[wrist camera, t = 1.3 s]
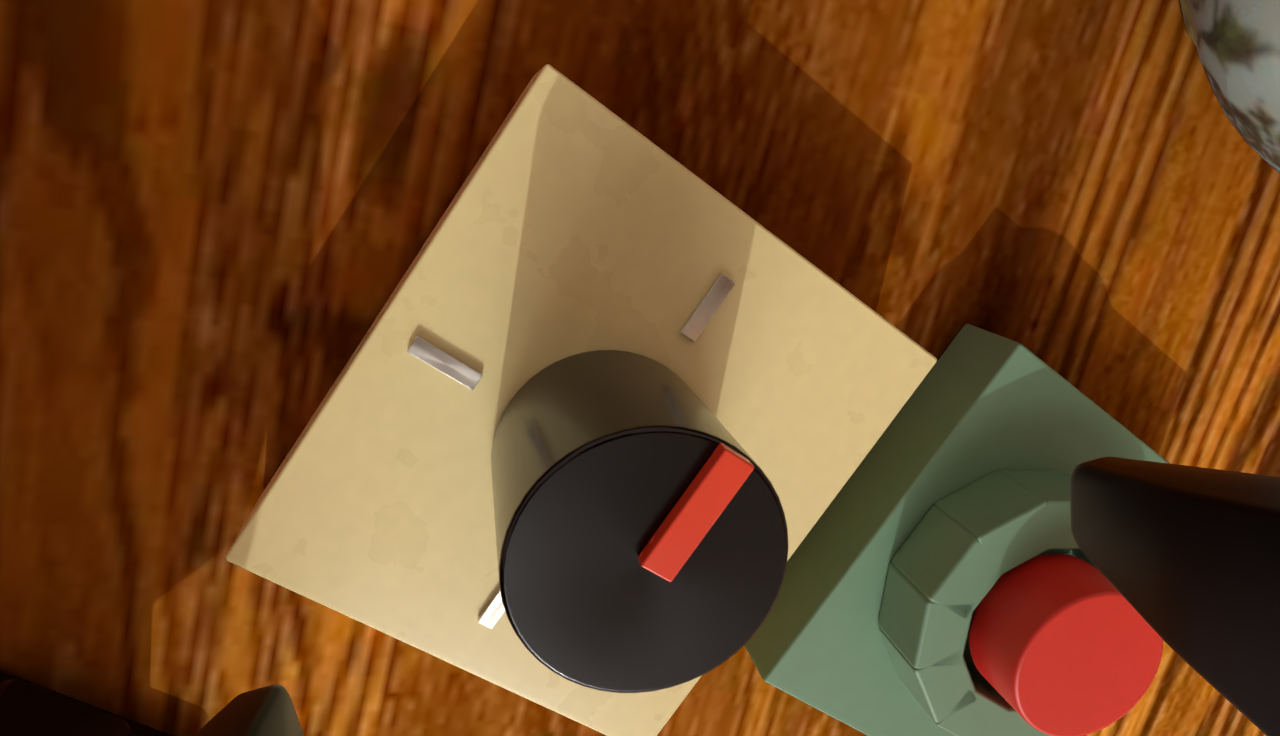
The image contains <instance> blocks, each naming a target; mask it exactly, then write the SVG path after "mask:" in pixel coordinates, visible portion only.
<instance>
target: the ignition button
mask: <svg viewBox="0 0 1280 736" xmlns="http://www.w3.org/2000/svg"><path fill="white" fill-rule="evenodd" d="M969 647H970V652H971V656H972V659H973V662H974V664H975V666H976V668H977V670H978V671H979V672H980V674H981V675H982V676H983V677H984V678H985V679H986V680H987V681H988V682H989V683H990V684H991V685H992V686H993V687H994V688H995V690H996V691H997V692H998V693H999V694H1000V695H1001V696H1002V697H1003V698H1004V699H1005V700H1006V701H1007V702H1008V703H1009V704H1010V705H1011V706H1012V707H1013V708H1014V709H1015V711H1016V712H1017V713H1018V714H1019V715H1020V716H1021V717H1022V718H1023V719H1024V720H1025V721H1026V722H1027V723H1028V724H1029V725H1030V726H1032V727H1033V728H1035V729H1036V730H1038V731H1040V732H1043V733H1045V734H1048V735H1052V736H1083V735H1087V734H1090V733H1093V732H1096V731H1098V730H1101V729H1103V728H1105V727H1107V726H1109V725H1110V724H1112V723H1114V722H1115V721H1117V720H1118V719H1120V718H1121V717H1122V716H1124V715H1125V714H1126V713H1127V712H1128V711H1129V710H1130V709H1132V708H1133V707H1134V706H1135V705H1136V703H1137V702H1138V701H1139V700H1140V699H1141V698H1142V696H1143V695H1144V694H1145V692H1146V691H1147V690H1148V688H1149V686H1150V685H1151V683H1152V681H1153V679H1154V677H1155V675H1156V673H1157V670H1158V667H1159V664H1160V661H1161V656H1162V649H1163V639H1162V638H1161V637H1160V636H1159V635H1158V634H1157V633H1156V631H1155V630H1154V629H1153V628H1152V627H1151V626H1150V625H1149V624H1148V623H1147V622H1146V621H1145V620H1144V618H1143V617H1142V616H1141V615H1140V614H1139V613H1138V612H1137V611H1136V610H1135V609H1134V608H1133V606H1132V605H1131V604H1130V603H1129V602H1128V601H1127V600H1126V599H1125V598H1124V597H1123V596H1122V594H1121V593H1120V592H1119V591H1118V590H1117V589H1116V588H1115V587H1114V586H1113V585H1112V584H1111V582H1110V581H1109V580H1108V579H1107V578H1106V577H1105V576H1104V575H1103V574H1102V573H1101V572H1100V570H1098V569H1097V568H1095V567H1094V566H1093V565H1091V564H1090V563H1088V562H1086V561H1085V560H1083V559H1081V558H1078V557H1076V556H1072V555H1067V554H1045V555H1040V556H1036V557H1033V558H1031V559H1029V560H1028V561H1026V562H1024V563H1022V564H1020V565H1018V566H1016V567H1014V568H1013V569H1011V570H1009V571H1007V572H1005V573H1004V574H1002V575H1001V577H1000V578H999V579H998V580H997V582H996V583H995V584H994V585H993V587H992V588H991V589H990V591H989V592H988V593H987V594H986V596H985V597H984V598H983V599H982V601H981V602H980V603H979V604H978V606H977V607H976V610H975V612H974V615H973V618H972V621H971V625H970V631H969Z"/></svg>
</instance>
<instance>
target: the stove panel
mask: <svg viewBox="0 0 1280 736" xmlns="http://www.w3.org/2000/svg"><path fill="white" fill-rule="evenodd" d="M596 350H618V351H627V352H631V353H636V354H640V355H643V356H645V357H648V358H651V359H653V360H655V361H657V362H659V363H661V364H662V365H664V366H666V367H668V368H669V369H670V370H672V371H673V372H674V373H675V374H677V375H678V376H679V377H680V378H681V379H682V380H683V381H684V382H685V383H686V384H687V385H688V386H689V387H690V389H691V390H692V391H693V392H694V393H695V394H696V395H697V396H698V398H699V399H700V400H701V401H702V402H703V403H704V404H705V406H706V407H707V408H708V409H709V410H710V411H711V412H712V413H713V415H714V416H715V417H716V418H717V419H718V420H719V421H720V423H721V424H722V425H723V426H724V427H725V428H726V429H727V431H728V432H729V433H730V434H731V435H732V436H733V437H734V438H735V440H736V441H737V442H738V443H739V444H740V445H741V446H742V448H743V449H744V450H745V451H746V452H747V453H748V454H749V455H750V457H751V458H752V459H753V460H754V461H755V462H756V463H757V465H758V466H759V467H760V468H761V469H762V471H763V472H764V473H765V475H766V476H767V477H768V479H769V480H770V481H771V483H772V485H773V487H774V489H775V491H776V492H777V494H778V496H779V499H780V502H781V504H782V507H783V510H784V513H785V518H786V523H787V529H788V558H787V561H788V560H789V558H790V557H791V556H792V554H793V553H794V552H795V550H796V549H797V548H798V546H799V545H800V544H801V542H802V541H803V540H804V538H805V537H806V536H807V534H808V533H809V532H810V530H811V529H812V528H813V526H814V525H815V524H816V522H817V521H818V520H819V518H820V517H821V516H822V514H823V513H824V512H825V510H826V509H827V507H828V506H829V505H830V503H831V502H832V501H833V499H834V498H835V497H836V495H837V494H838V493H839V491H840V490H841V489H842V487H843V486H844V485H845V483H846V482H847V481H848V479H849V478H850V477H851V475H852V474H853V473H854V471H855V470H856V469H857V467H858V466H859V465H860V463H861V462H862V461H863V459H864V458H865V457H866V455H867V454H868V453H869V451H870V450H871V449H872V447H873V446H874V445H875V443H876V442H877V441H878V439H879V438H880V437H881V435H882V434H883V433H884V431H885V430H886V429H887V427H888V426H889V425H890V423H891V422H892V421H893V419H894V418H895V417H896V415H897V414H898V413H899V411H900V410H901V409H902V407H903V406H904V405H905V403H906V402H907V401H908V399H909V398H910V397H911V395H912V394H913V393H914V391H915V390H916V389H917V387H918V386H919V385H920V383H921V382H922V381H923V379H924V378H925V376H926V375H927V374H928V372H929V371H930V370H931V368H932V367H933V366H934V364H935V363H936V362H937V359H936V357H935V356H933V355H932V354H931V353H929V352H928V351H927V350H926V349H924V348H923V347H922V346H920V345H919V344H918V343H916V342H915V341H914V340H912V339H911V338H910V337H908V336H907V335H906V334H904V333H903V332H902V331H900V330H899V329H898V328H897V327H895V326H894V325H893V324H891V323H890V322H889V321H887V320H886V319H885V318H883V317H882V316H881V315H879V314H878V313H877V312H875V311H874V310H873V309H871V308H870V307H869V306H868V305H866V304H865V303H864V302H862V301H861V300H860V299H858V298H857V297H856V296H854V295H853V294H852V293H850V292H849V291H848V290H846V289H845V288H844V287H842V286H841V285H840V284H839V283H837V282H836V281H835V280H833V279H832V278H831V277H829V276H828V275H827V274H825V273H824V272H823V271H821V270H820V269H819V268H817V267H816V266H815V265H813V264H812V263H811V262H810V261H808V260H807V259H806V258H804V257H803V256H802V255H800V254H799V253H798V252H796V251H795V250H794V249H792V248H791V247H790V246H788V245H787V244H786V243H784V242H783V241H782V240H781V239H779V238H778V237H777V236H775V235H774V234H773V233H771V232H770V231H769V230H767V229H766V228H765V227H763V226H762V225H761V224H759V223H758V222H757V221H756V220H754V219H753V218H752V217H750V216H749V215H748V214H746V213H745V212H744V211H742V210H741V209H740V208H738V207H737V206H736V205H734V204H733V203H732V202H730V201H729V200H728V199H727V198H725V197H724V196H723V195H721V194H720V193H719V192H717V191H716V190H715V189H713V188H712V187H711V186H709V185H708V184H707V183H705V182H704V181H703V180H701V179H700V178H699V177H698V176H696V175H695V174H694V173H692V172H691V171H690V170H688V169H687V168H686V167H684V166H683V165H682V164H680V163H679V162H678V161H676V160H675V159H674V158H672V157H671V156H670V155H669V154H667V153H666V152H665V151H663V150H662V149H661V148H659V147H658V146H657V145H655V144H654V143H653V142H651V141H650V140H649V139H647V138H646V137H645V136H643V135H642V134H641V133H640V132H638V131H637V130H636V129H634V128H633V127H632V126H630V125H629V124H628V123H626V122H625V121H624V120H622V119H621V118H620V117H618V116H617V115H616V114H614V113H613V112H612V111H611V110H609V109H608V108H607V107H605V106H604V105H603V104H601V103H600V102H599V101H597V100H596V99H595V98H593V97H592V96H591V95H589V94H588V93H587V92H585V91H584V90H583V89H582V88H580V87H579V86H578V85H576V84H575V83H574V82H572V81H571V80H570V79H568V78H567V77H566V76H564V75H563V74H562V73H560V72H559V71H558V70H557V69H555V68H554V67H553V66H551V65H549V64H546V65H545V66H543V67H542V68H541V69H540V70H539V71H538V72H537V73H536V74H535V75H534V76H533V77H532V78H531V80H530V81H529V83H528V84H527V86H526V88H525V89H524V91H523V92H522V94H521V95H520V97H519V98H518V100H517V101H516V103H515V104H514V106H513V108H512V109H511V111H510V112H509V114H508V115H507V117H506V118H505V120H504V121H503V123H502V124H501V126H500V128H499V129H498V131H497V132H496V134H495V135H494V137H493V138H492V140H491V141H490V143H489V145H488V146H487V148H486V149H485V151H484V152H483V154H482V155H481V157H480V158H479V160H478V161H477V163H476V165H475V166H474V168H473V169H472V171H471V172H470V174H469V175H468V177H467V178H466V180H465V181H464V183H463V185H462V186H461V188H460V189H459V191H458V192H457V194H456V195H455V197H454V198H453V200H452V202H451V203H450V205H449V206H448V208H447V209H446V211H445V212H444V214H443V215H442V217H441V218H440V220H439V222H438V223H437V225H436V226H435V228H434V229H433V231H432V232H431V234H430V235H429V237H428V238H427V240H426V242H425V243H424V245H423V246H422V248H421V249H420V251H419V252H418V254H417V255H416V257H415V259H414V260H413V262H412V263H411V265H410V266H409V268H408V269H407V271H406V272H405V274H404V275H403V277H402V279H401V280H400V282H399V283H398V285H397V286H396V288H395V289H394V291H393V292H392V294H391V295H390V297H389V299H388V300H387V302H386V303H385V305H384V306H383V308H382V309H381V311H380V312H379V314H378V316H377V317H376V319H375V320H374V322H373V323H372V325H371V326H370V328H369V329H368V331H367V332H366V334H365V336H364V337H363V339H362V340H361V342H360V343H359V345H358V346H357V348H356V349H355V351H354V352H353V354H352V356H351V357H350V359H349V360H348V362H347V363H346V365H345V366H344V368H343V369H342V371H341V373H340V374H339V376H338V377H337V379H336V380H335V382H334V383H333V385H332V386H331V388H330V389H329V391H328V393H327V394H326V396H325V397H324V399H323V400H322V402H321V403H320V405H319V406H318V408H317V409H316V411H315V413H314V414H313V416H312V417H311V419H310V420H309V422H308V423H307V425H306V426H305V428H304V430H303V431H302V433H301V434H300V436H299V437H298V439H297V440H296V442H295V443H294V445H293V446H292V448H291V450H290V451H289V453H288V454H287V456H286V457H285V459H284V460H283V462H282V463H281V465H280V466H279V468H278V470H277V471H276V473H275V474H274V476H273V477H272V479H271V480H270V482H269V483H268V485H267V487H266V488H265V490H264V491H263V493H262V494H261V496H260V498H259V499H258V501H257V503H256V505H255V506H254V508H253V510H252V512H251V513H250V515H249V517H248V518H247V520H246V522H245V524H244V525H243V527H242V529H241V531H240V532H239V534H238V536H237V537H236V539H235V541H234V543H233V544H232V546H231V548H230V549H229V551H228V553H227V555H226V558H225V559H226V560H227V561H228V562H231V563H233V564H235V565H237V566H239V567H241V568H244V569H246V570H248V571H250V572H252V573H254V574H257V575H259V576H261V577H263V578H265V579H267V580H270V581H272V582H274V583H276V584H278V585H281V586H283V587H285V588H287V589H289V590H291V591H294V592H296V593H298V594H300V595H302V596H304V597H307V598H309V599H311V600H313V601H315V602H317V603H320V604H322V605H324V606H326V607H328V608H331V609H333V610H335V611H337V612H339V613H341V614H344V615H346V616H348V617H350V618H352V619H354V620H357V621H359V622H361V623H363V624H365V625H368V626H370V627H372V628H374V629H376V630H378V631H381V632H383V633H385V634H387V635H389V636H391V637H394V638H396V639H398V640H400V641H402V642H404V643H407V644H409V645H411V646H413V647H415V648H418V649H420V650H422V651H424V652H426V653H428V654H431V655H433V656H435V657H437V658H439V659H441V660H444V661H446V662H448V663H450V664H452V665H454V666H457V667H459V668H461V669H463V670H465V671H468V672H470V673H472V674H474V675H476V676H478V677H481V678H483V679H485V680H487V681H489V682H491V683H494V684H496V685H498V686H500V687H502V688H504V689H507V690H509V691H511V692H513V693H515V694H518V695H520V696H522V697H524V698H526V699H528V700H531V701H533V702H535V703H537V704H539V705H541V706H544V707H546V708H548V709H550V710H552V711H554V712H557V713H559V714H561V715H563V716H565V717H568V718H570V719H572V720H574V721H576V722H578V723H581V724H583V725H585V726H587V727H589V728H591V729H594V730H596V731H598V732H600V733H602V734H604V735H607V736H657V735H658V733H659V732H660V731H661V729H662V728H663V727H664V725H665V724H666V723H667V721H668V720H669V719H670V717H671V716H672V715H673V713H674V712H675V711H676V709H677V708H678V707H679V705H680V704H681V703H682V701H683V700H684V699H685V697H686V696H687V695H688V693H689V692H690V691H691V689H692V688H693V687H694V685H695V684H696V683H697V681H698V680H699V679H700V677H701V676H699V677H697V678H695V679H693V680H691V681H689V682H686V683H683V684H680V685H677V686H674V687H671V688H666V689H661V690H657V691H651V692H641V693H615V692H607V691H600V690H596V689H592V688H588V687H584V686H581V685H579V684H576V683H574V682H571V681H569V680H567V679H565V678H563V677H561V676H560V675H558V674H556V673H554V672H552V671H551V670H550V669H549V668H547V667H546V666H545V665H543V664H542V663H541V662H539V661H538V660H537V659H536V658H535V657H534V656H533V655H532V654H531V653H530V652H529V651H528V650H527V649H526V648H525V646H524V645H523V643H522V642H521V641H520V639H519V638H518V637H517V635H516V634H515V632H514V630H513V628H512V626H511V624H510V622H509V620H508V618H507V615H506V612H505V609H504V606H503V603H502V598H501V592H500V586H499V574H498V559H497V545H496V530H495V515H494V500H493V486H492V471H491V452H492V444H493V439H494V435H495V431H496V428H497V425H498V423H499V420H500V418H501V416H502V414H503V412H504V410H505V408H506V407H507V405H508V403H509V402H510V400H511V399H512V398H513V396H514V395H515V394H516V393H517V391H518V390H519V389H520V388H521V387H522V386H523V385H524V384H525V383H526V382H527V381H528V380H529V379H530V378H532V377H533V376H534V375H536V374H537V373H538V372H540V371H541V370H542V369H544V368H546V367H548V366H549V365H551V364H553V363H555V362H557V361H559V360H562V359H564V358H566V357H569V356H572V355H576V354H579V353H583V352H589V351H596Z"/></svg>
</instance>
